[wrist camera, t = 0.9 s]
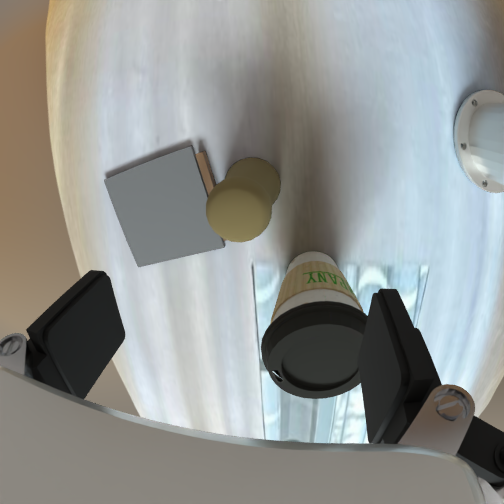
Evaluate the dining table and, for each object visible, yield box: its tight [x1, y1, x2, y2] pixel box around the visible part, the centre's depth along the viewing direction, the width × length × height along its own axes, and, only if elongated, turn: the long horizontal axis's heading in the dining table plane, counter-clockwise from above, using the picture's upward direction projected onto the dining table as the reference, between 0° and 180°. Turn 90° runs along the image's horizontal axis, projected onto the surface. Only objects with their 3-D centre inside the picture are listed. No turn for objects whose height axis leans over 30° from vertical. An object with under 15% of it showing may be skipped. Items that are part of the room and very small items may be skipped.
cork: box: [206, 158, 281, 242], centre depth 27 cm, size 6×6×11 cm
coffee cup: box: [261, 251, 368, 399], centre depth 29 cm, size 10×10×15 cm
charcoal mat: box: [104, 146, 225, 267], centre depth 34 cm, size 12×12×1 cm
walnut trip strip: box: [195, 151, 226, 241], centre depth 33 cm, size 1×10×1 cm, turn 17°
